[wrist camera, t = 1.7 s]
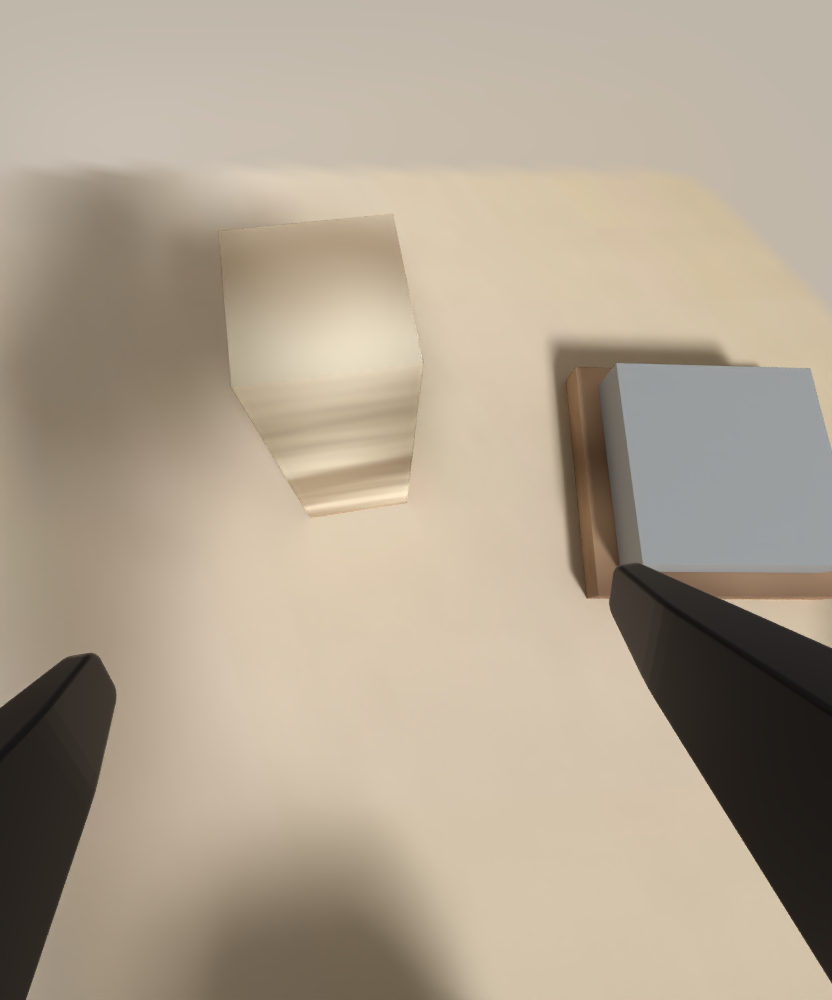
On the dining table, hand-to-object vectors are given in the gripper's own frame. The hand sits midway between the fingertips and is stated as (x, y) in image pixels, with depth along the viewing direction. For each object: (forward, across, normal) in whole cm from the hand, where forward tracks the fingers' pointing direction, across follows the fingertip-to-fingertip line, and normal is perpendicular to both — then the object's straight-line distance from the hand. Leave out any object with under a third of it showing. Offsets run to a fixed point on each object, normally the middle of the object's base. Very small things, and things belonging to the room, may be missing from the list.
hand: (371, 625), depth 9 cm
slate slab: (+12, -16, +5) cm, 20 cm away
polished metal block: (+15, 0, +4) cm, 16 cm away
